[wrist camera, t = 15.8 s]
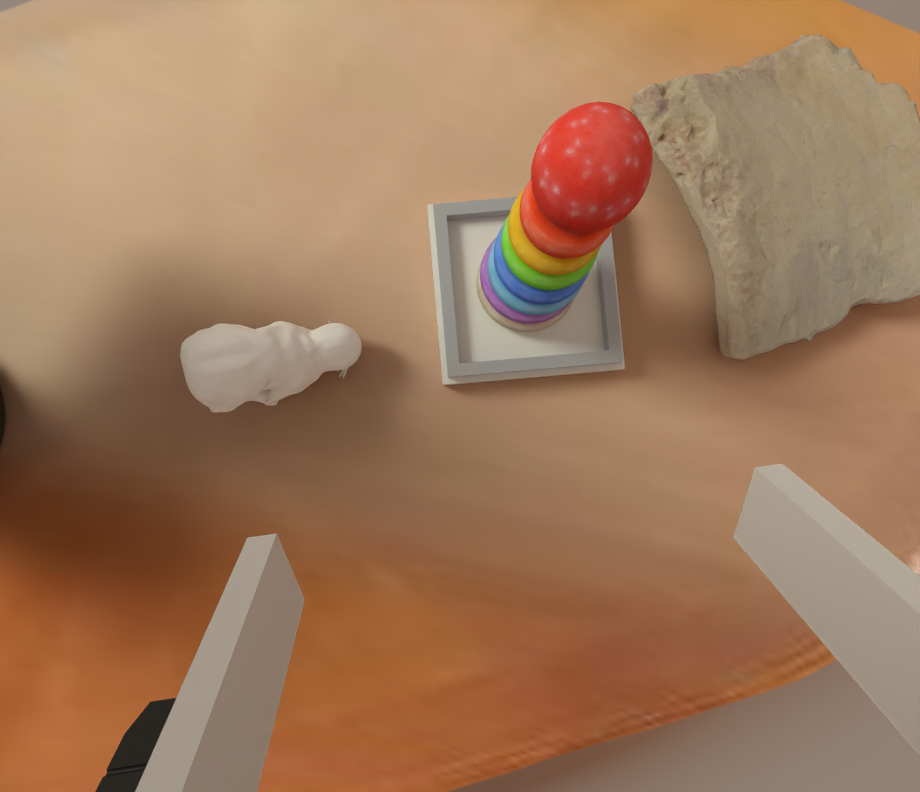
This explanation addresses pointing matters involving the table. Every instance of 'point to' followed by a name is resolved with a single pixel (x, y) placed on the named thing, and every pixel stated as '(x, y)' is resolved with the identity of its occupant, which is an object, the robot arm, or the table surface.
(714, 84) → the tablet
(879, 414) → the table surface
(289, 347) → the lumpy white figurine
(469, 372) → the tray
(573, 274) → the stacking toy
